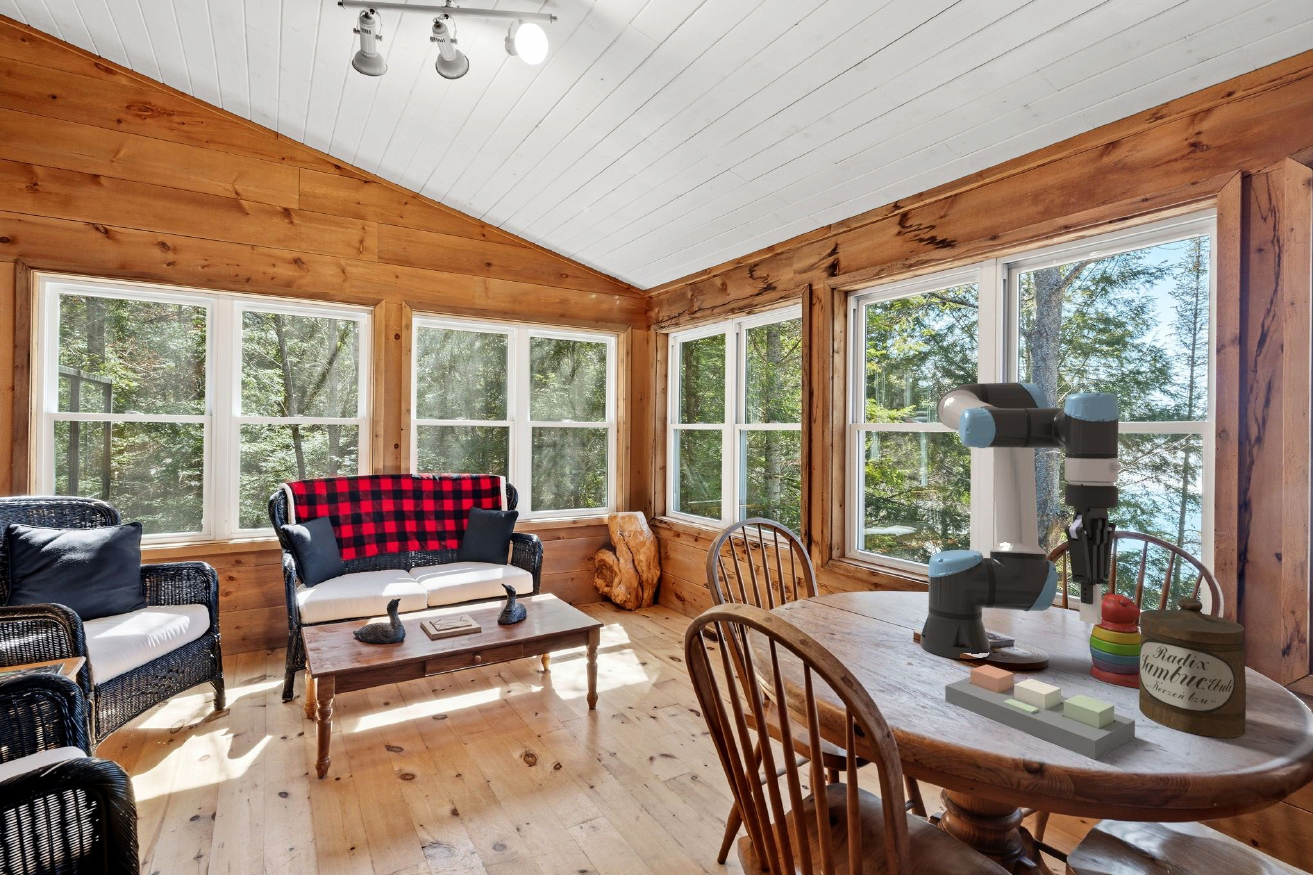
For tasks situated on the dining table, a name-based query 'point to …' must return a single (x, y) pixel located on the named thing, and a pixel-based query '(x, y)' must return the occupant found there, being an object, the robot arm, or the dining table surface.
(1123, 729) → the console
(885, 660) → the dining table surface
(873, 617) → the dining table surface
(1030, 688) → the off-white key
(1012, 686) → the terracotta key
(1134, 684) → the stacking bear
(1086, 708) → the sage green key
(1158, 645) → the wooden container
